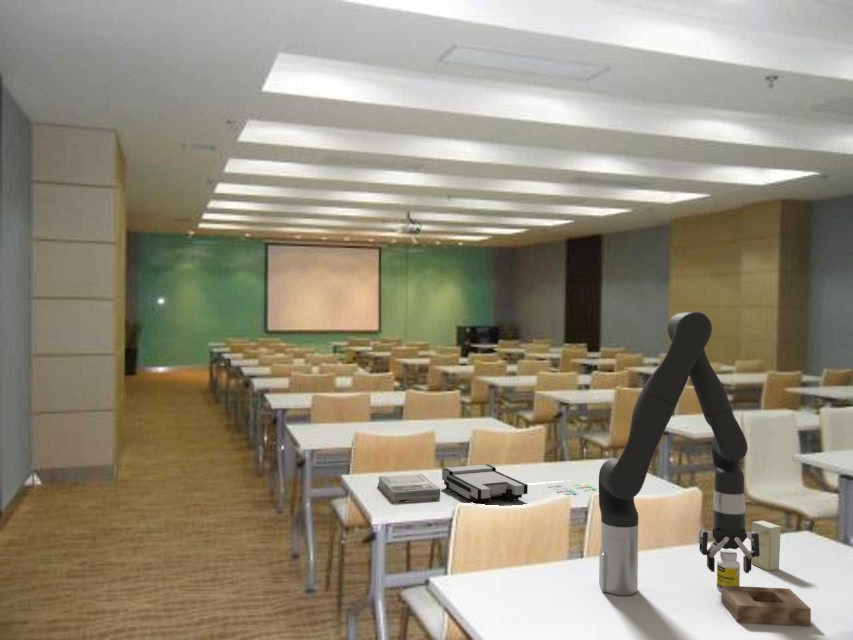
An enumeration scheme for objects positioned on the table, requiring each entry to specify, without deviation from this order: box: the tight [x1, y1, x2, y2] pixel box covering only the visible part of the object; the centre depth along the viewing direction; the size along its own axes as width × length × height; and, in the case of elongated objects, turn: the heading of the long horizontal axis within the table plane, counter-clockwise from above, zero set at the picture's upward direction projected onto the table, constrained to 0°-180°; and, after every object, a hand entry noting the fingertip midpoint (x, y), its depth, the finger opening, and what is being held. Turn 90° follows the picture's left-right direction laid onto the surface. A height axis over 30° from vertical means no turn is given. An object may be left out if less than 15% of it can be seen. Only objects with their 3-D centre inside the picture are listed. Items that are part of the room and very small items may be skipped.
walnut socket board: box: [720, 585, 812, 627], centre depth 169 cm, size 16×12×4 cm
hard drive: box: [377, 473, 441, 503], centre depth 280 cm, size 18×27×4 cm
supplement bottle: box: [716, 549, 741, 592], centre depth 183 cm, size 5×5×10 cm
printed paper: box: [527, 480, 599, 495], centre depth 286 cm, size 30×30×2 cm
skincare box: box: [751, 520, 782, 572], centre depth 201 cm, size 6×4×12 cm
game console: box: [441, 463, 529, 505], centre depth 277 cm, size 21×32×8 cm, turn 22°
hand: (729, 571), depth 183 cm, fingers open, 8 cm apart
